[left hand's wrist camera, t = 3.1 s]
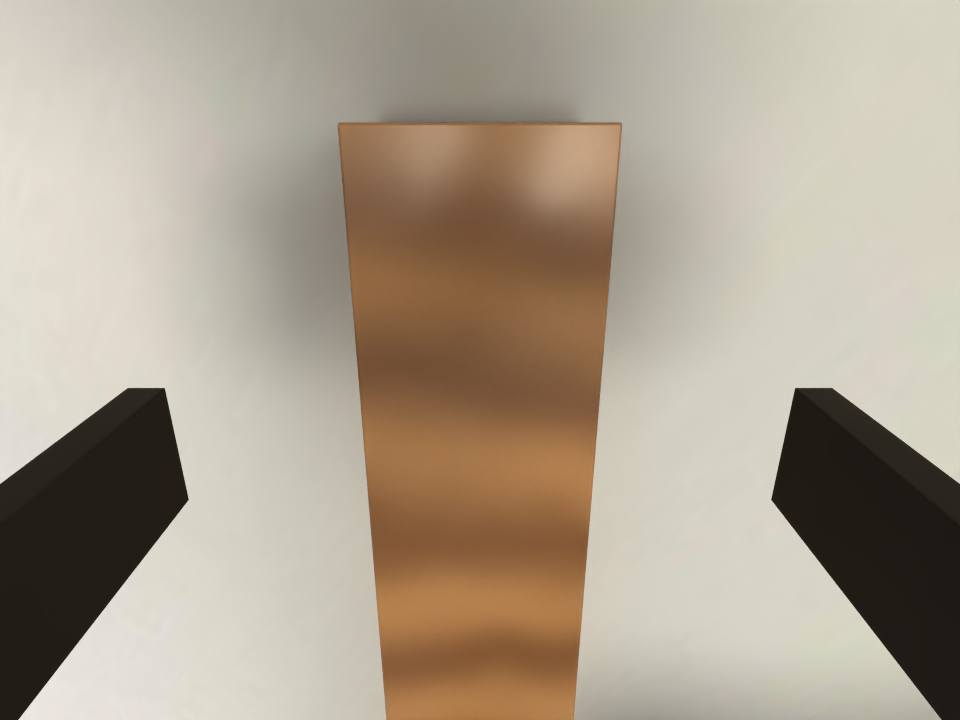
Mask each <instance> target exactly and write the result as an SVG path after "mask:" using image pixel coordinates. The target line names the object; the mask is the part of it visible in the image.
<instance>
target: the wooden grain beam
mask: <svg viewBox="0 0 960 720" xmlns="http://www.w3.org/2000/svg"><path fill="white" fill-rule="evenodd" d="M621 132H622V123H338V134H339V146H340V158H341V170H342V182H343V195H344V207H345V219H346V231H347V243H348V255H349V268H350V280H351V292H352V304H353V316H354V329H355V341H356V353H357V365H358V377H359V389H360V402H361V414H362V426H363V438H364V450H365V463H366V475H367V487H368V499H369V511H370V523H371V536H372V548H373V560H374V572H375V584H376V597H377V609H378V621H379V633H380V645H381V657H382V670H383V682H384V694H385V706H386V718H387V720H573V718H574V705H575V693H576V681H577V669H578V657H579V644H580V632H581V620H582V608H583V596H584V583H585V571H586V559H587V547H588V535H589V522H590V510H591V498H592V486H593V474H594V462H595V449H596V437H597V425H598V413H599V401H600V388H601V376H602V364H603V352H604V340H605V327H606V315H607V303H608V291H609V279H610V266H611V254H612V242H613V230H614V218H615V205H616V193H617V181H618V169H619V157H620V145H621Z"/></svg>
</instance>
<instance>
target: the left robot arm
mask: <svg viewBox="0 0 960 720" xmlns="http://www.w3.org/2000/svg"><path fill="white" fill-rule="evenodd" d="M188 500H189V499H188V494H187V490H186V485H185V480H184V476H183V471H182V467H181V462H180V457H179V453H178V448H177V443H176V439H175V434H174V429H173V425H172V420H171V415H170V411H169V406H168V401H167V397H166V392H165V388H127V389H126V390H125V391H123V392H122V393H121V394H119V395H118V396H117V397H115V398H114V399H113V400H111V401H110V402H109V403H107V404H106V405H105V406H103V407H102V408H101V409H100V410H98V411H97V412H96V413H94V414H93V415H92V416H90V417H89V418H88V419H86V420H85V421H84V422H82V423H81V424H80V425H78V426H77V427H76V428H74V429H73V430H72V431H70V432H69V433H68V434H66V435H65V436H64V437H62V438H61V439H60V440H58V441H57V442H56V443H54V444H53V445H52V446H50V447H49V448H48V449H46V450H45V451H44V452H42V453H41V454H40V455H38V456H37V457H36V458H34V459H33V460H32V461H30V462H29V463H28V464H26V465H25V466H24V467H22V468H21V469H20V470H18V471H17V472H16V473H14V474H13V475H12V476H10V477H9V478H8V479H6V480H5V481H4V482H2V483H1V484H0V720H18V719H19V718H20V717H21V716H22V714H23V713H24V712H25V710H26V709H27V708H28V707H29V705H30V704H31V703H32V701H33V700H34V699H35V697H36V696H37V695H38V694H39V692H40V691H41V690H42V688H43V687H44V686H45V685H46V683H47V682H48V681H49V679H50V678H51V677H52V676H53V674H54V673H55V672H56V670H57V669H58V668H59V666H60V665H61V664H62V663H63V661H64V660H65V659H66V657H67V656H68V655H69V654H70V652H71V651H72V650H73V648H74V647H75V646H76V645H77V643H78V642H79V641H80V639H81V638H82V637H83V636H84V634H85V633H86V632H87V630H88V629H89V628H90V626H91V625H92V624H93V623H94V621H95V620H96V619H97V617H98V616H99V615H100V614H101V612H102V611H103V610H104V608H105V607H106V606H107V605H108V603H109V602H110V601H111V599H112V598H113V597H114V595H115V594H116V593H117V592H118V590H119V589H120V588H121V586H122V585H123V584H124V583H125V581H126V580H127V579H128V577H129V576H130V575H131V574H132V572H133V571H134V570H135V568H136V567H137V566H138V565H139V563H140V562H141V561H142V559H143V558H144V557H145V555H146V554H147V553H148V552H149V550H150V549H151V548H152V546H153V545H154V544H155V543H156V541H157V540H158V539H159V537H160V536H161V535H162V534H163V532H164V531H165V530H166V528H167V527H168V526H169V525H170V523H171V522H172V521H173V519H174V518H175V517H176V515H177V514H178V513H179V512H180V510H181V509H182V508H183V506H184V505H185V504H186V503H187V501H188ZM771 500H772V501H773V503H774V504H775V505H776V506H777V508H778V509H779V510H780V512H781V513H782V514H783V515H784V517H785V518H786V519H787V521H788V522H789V523H790V525H791V526H792V527H793V528H794V530H795V531H796V532H797V534H798V535H799V536H800V537H801V539H802V540H803V541H804V543H805V544H806V545H807V546H808V548H809V549H810V550H811V552H812V553H813V554H814V555H815V557H816V558H817V559H818V561H819V562H820V563H821V565H822V566H823V567H824V568H825V570H826V571H827V572H828V574H829V575H830V576H831V577H832V579H833V580H834V581H835V583H836V584H837V585H838V586H839V588H840V589H841V590H842V592H843V593H844V594H845V596H846V597H847V598H848V599H849V601H850V602H851V603H852V605H853V606H854V607H855V608H856V610H857V611H858V612H859V614H860V615H861V616H862V617H863V619H864V620H865V621H866V623H867V624H868V625H869V626H870V628H871V629H872V630H873V632H874V633H875V634H876V636H877V637H878V638H879V639H880V641H881V642H882V643H883V645H884V646H885V647H886V648H887V650H888V651H889V652H890V654H891V655H892V656H893V657H894V659H895V660H896V661H897V663H898V664H899V665H900V666H901V668H902V669H903V670H904V672H905V673H906V674H907V676H908V677H909V678H910V679H911V681H912V682H913V683H914V685H915V686H916V687H917V688H918V690H919V691H920V692H921V694H922V695H923V696H924V697H925V699H926V700H927V701H928V703H929V704H930V705H931V707H932V708H933V709H934V710H935V712H936V713H937V714H938V716H939V717H940V718H941V719H942V720H960V484H959V483H958V482H956V481H955V480H954V479H952V478H951V477H950V476H948V475H947V474H946V473H944V472H943V471H942V470H940V469H939V468H938V467H936V466H935V465H934V464H932V463H931V462H930V461H928V460H927V459H926V458H924V457H923V456H922V455H920V454H919V453H918V452H916V451H915V450H914V449H912V448H911V447H910V446H908V445H907V444H906V443H904V442H903V441H902V440H900V439H899V438H898V437H896V436H895V435H894V434H892V433H891V432H890V431H888V430H887V429H886V428H884V427H883V426H882V425H880V424H879V423H878V422H876V421H875V420H874V419H872V418H871V417H870V416H868V415H867V414H866V413H864V412H863V411H862V410H860V409H859V408H858V407H857V406H855V405H854V404H853V403H851V402H850V401H849V400H847V399H846V398H845V397H843V396H842V395H841V394H839V393H838V392H837V391H835V390H834V389H833V388H795V392H794V397H793V401H792V406H791V411H790V415H789V420H788V425H787V429H786V434H785V439H784V443H783V448H782V453H781V457H780V462H779V466H778V471H777V476H776V480H775V485H774V490H773V494H772V499H771Z"/></svg>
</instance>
